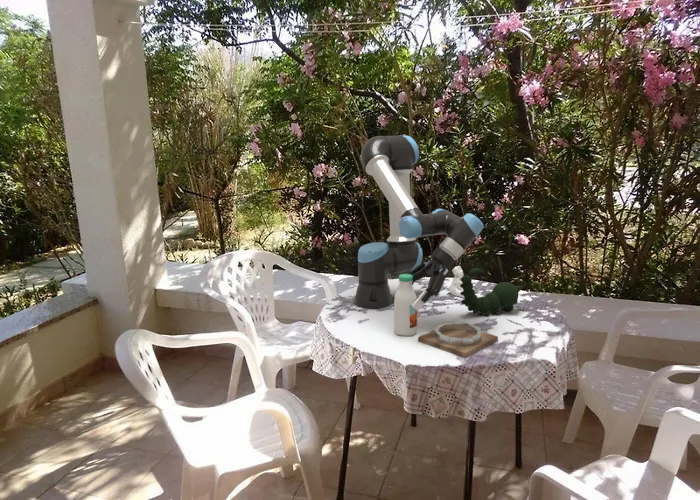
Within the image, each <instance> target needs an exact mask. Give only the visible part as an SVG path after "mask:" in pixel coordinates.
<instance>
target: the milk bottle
mask: <svg viewBox="0 0 700 500" xmlns="http://www.w3.org/2000/svg"><path fill="white" fill-rule="evenodd" d="M412 280H413V276H412V275H411V274H408V273H400V274H399V275H398V282H399V284H398V285H399V286H398V287H397V291H396V292H395V293H396V295H395V294H394V300H393V301H394V303H393V316H394V317H393V330H394V331H393V332H394V334H396V335H398V336H402V337H403V336H404V337H410V336H414V335H416V334H417V332H418V311H417V310H416V309H415V308H414V307H412V305H413V304H414V302H415V301H416V300H417V299H418V297H417V293H416V292H415V290H414V287H413V286H414V285H412V282H413V281H412Z"/></svg>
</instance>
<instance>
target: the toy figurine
mask: <svg viewBox="0 0 700 500" xmlns="http://www.w3.org/2000/svg"><path fill="white" fill-rule="evenodd" d="M479 273H480V274H482V275H483V274H484V271H483V270H482V269H481V268H479V267H475V268H472V269H470V270H469V271H468V274H466V275H465V274H464V275H463V277H462V278H460V280H461V281H462V283H463V284H460V287H461V288H463V291H462V292H461V293H460V294H461V295H463V296H464V297H465V298H463V299H462V300H461V304H462V305H465V307H467V310H468V311H469V312H472V313H473V315H478V314H479V313H481V314H483V315H484V316H485V317H487V316H490V312H493V313H495V314H500V313H501V311H502V309H501V308H503V310H504V311H505V312H512V311H513V310H514V305H516V304H518V302H519V301H518V300H519V292H520V291H521V290H522V289H523V288H524V285H514V284H513V283H511V282H507V281H502V282H499V283H497V284H495V286H493V288H492V290H491V292H487V293H486V294H485V295H483V296H479V297H477V295H476V292H475V289H474V284H473V282H472V278H473V277H475V276H476V275H477V274H479Z"/></svg>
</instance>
